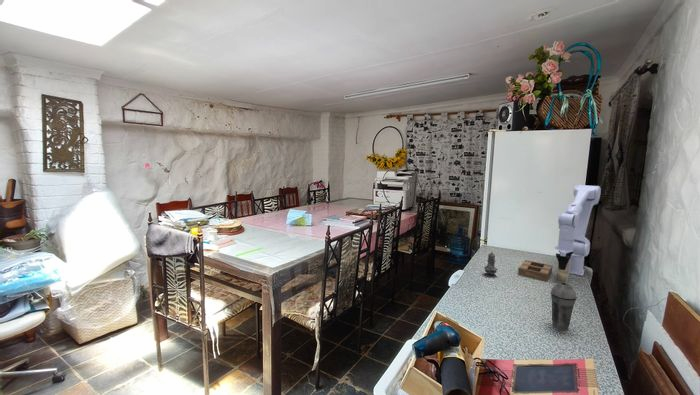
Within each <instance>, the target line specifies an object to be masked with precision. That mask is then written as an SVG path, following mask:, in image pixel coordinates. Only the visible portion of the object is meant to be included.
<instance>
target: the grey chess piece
mask: <svg viewBox="0 0 700 395" xmlns="http://www.w3.org/2000/svg"><path fill="white" fill-rule="evenodd" d="M495 257H496V254H494V253H493V251H491V252H490V253H488V257H487V260H486V261H487V265H486V266H484V267H483V269H484V272H485V273H484V276H485V277H488V278H497V275H496V273H497V272H498V268H497V267H496V266H495V262H496V260H495V259H496V258H495Z"/></svg>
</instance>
